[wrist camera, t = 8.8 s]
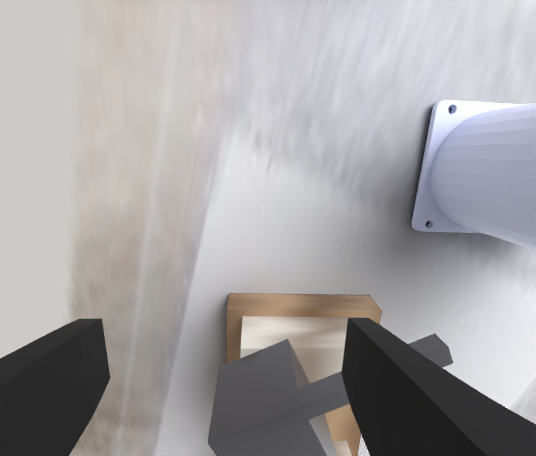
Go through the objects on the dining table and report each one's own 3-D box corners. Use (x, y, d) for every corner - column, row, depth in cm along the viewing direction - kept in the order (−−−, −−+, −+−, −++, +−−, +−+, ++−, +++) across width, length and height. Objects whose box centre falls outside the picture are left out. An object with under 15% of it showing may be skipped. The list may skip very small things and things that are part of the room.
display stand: (369, 295, 20) (435, 374, 13) (344, 452, 24) (385, 582, 16) (229, 293, 19) (215, 376, 12) (227, 455, 23) (216, 591, 16)
